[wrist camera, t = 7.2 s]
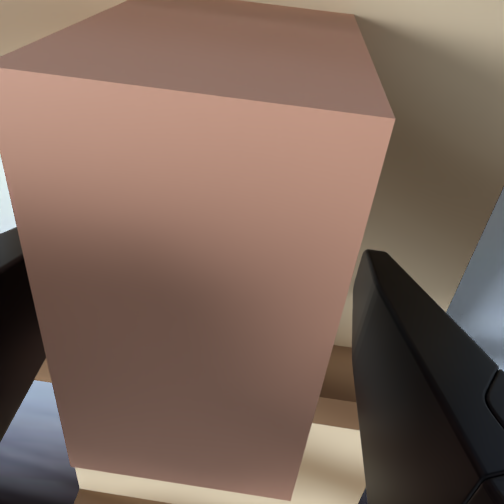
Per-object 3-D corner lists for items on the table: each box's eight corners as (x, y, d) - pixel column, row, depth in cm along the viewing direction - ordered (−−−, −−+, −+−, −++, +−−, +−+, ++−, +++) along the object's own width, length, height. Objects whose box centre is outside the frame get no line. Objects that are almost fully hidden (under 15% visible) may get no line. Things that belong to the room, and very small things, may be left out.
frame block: (304, 289, 13) (299, 502, 9) (158, 268, 14) (70, 466, 9) (360, 14, 9) (411, 121, 4) (152, -11, 10) (-19, 65, 5)
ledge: (338, 510, 23) (341, 594, 20) (94, 471, 24) (64, 548, 21) (597, -110, 9) (726, -118, 6) (-24, -183, 9) (-170, -223, 7)
